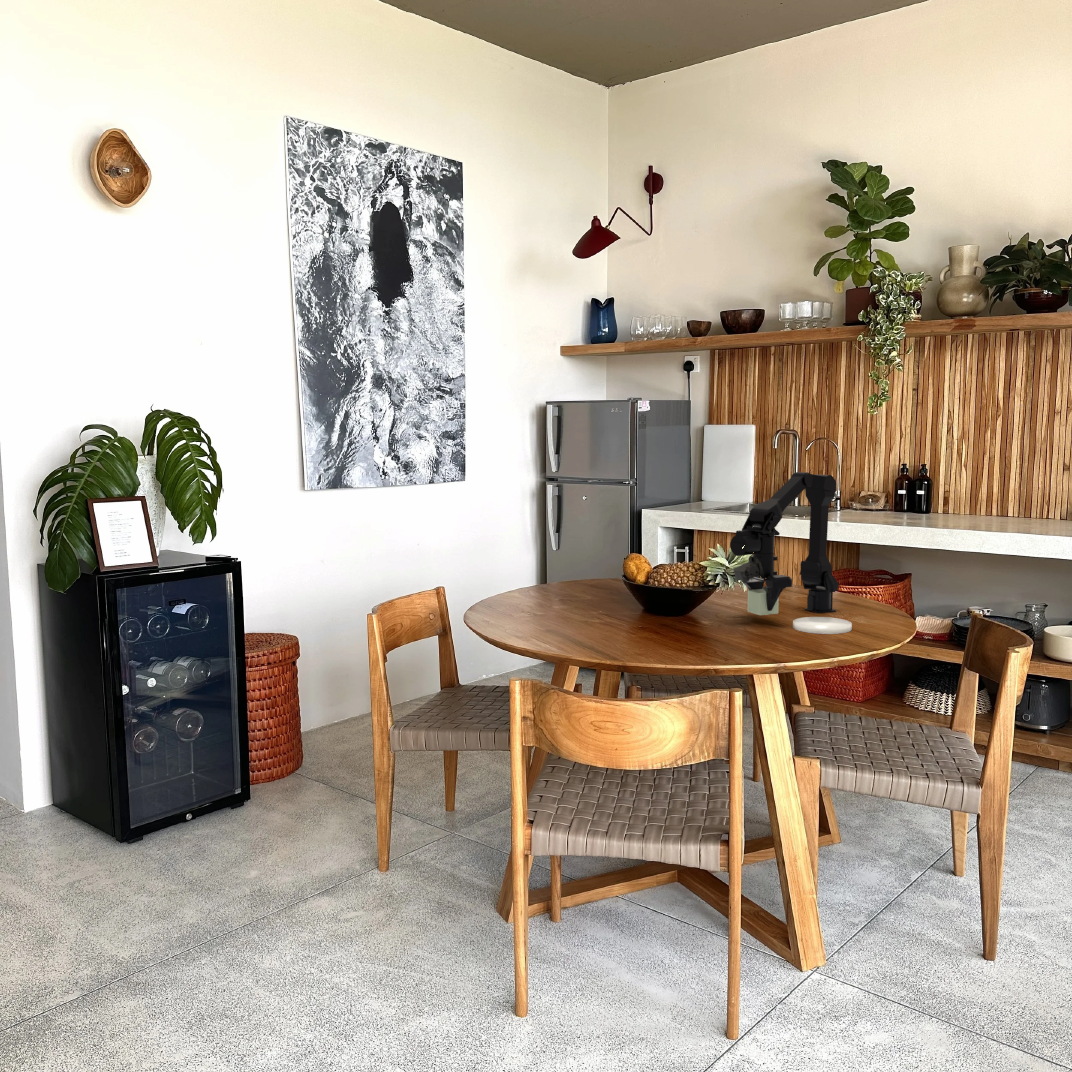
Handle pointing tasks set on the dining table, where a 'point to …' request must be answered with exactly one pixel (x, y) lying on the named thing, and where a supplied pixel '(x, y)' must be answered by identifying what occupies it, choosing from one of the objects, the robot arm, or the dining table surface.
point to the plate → (822, 625)
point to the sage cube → (760, 603)
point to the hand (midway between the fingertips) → (762, 608)
